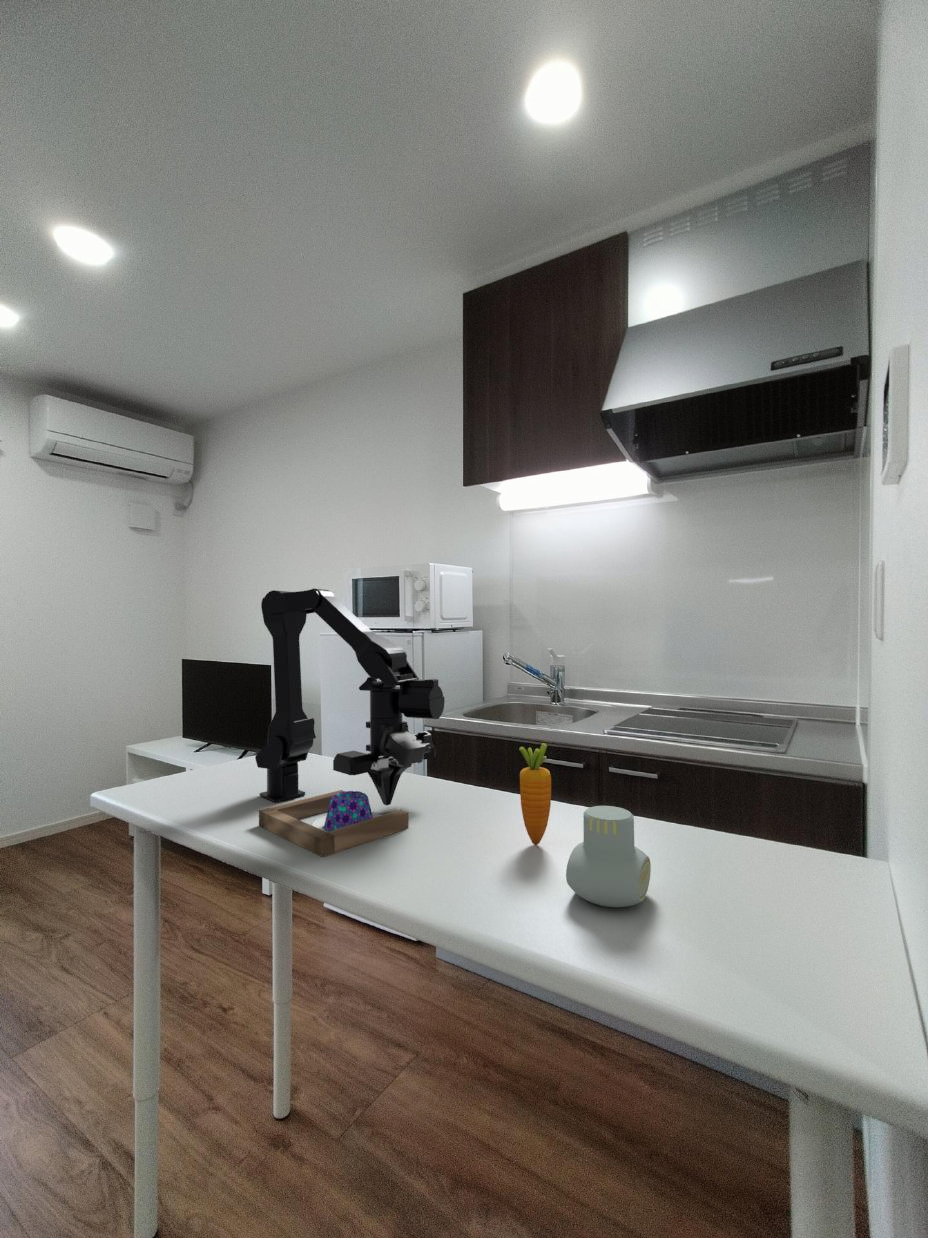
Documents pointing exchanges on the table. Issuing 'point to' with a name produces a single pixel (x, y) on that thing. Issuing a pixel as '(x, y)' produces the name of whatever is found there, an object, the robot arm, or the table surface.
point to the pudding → (345, 811)
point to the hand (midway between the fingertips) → (386, 804)
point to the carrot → (535, 793)
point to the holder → (319, 841)
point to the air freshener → (609, 860)
